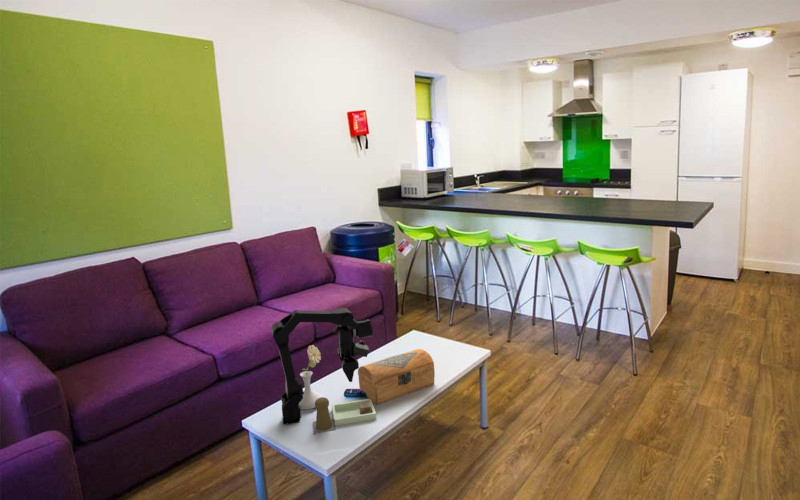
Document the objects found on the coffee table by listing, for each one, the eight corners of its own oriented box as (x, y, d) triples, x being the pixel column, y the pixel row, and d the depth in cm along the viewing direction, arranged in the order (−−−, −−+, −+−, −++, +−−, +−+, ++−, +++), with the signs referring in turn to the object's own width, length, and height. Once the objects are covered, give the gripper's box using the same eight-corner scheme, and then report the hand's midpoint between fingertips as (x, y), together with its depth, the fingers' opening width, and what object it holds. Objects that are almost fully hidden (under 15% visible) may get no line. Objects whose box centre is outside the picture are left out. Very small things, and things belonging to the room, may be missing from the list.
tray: (334, 426, 191) (334, 420, 190) (331, 410, 202) (331, 404, 202) (376, 419, 194) (376, 413, 194) (371, 404, 206) (370, 398, 205)
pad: (314, 434, 186) (314, 433, 186) (312, 422, 194) (312, 421, 194) (335, 430, 188) (335, 429, 188) (333, 419, 196) (333, 418, 196)
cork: (314, 423, 193) (311, 397, 190) (329, 419, 195) (327, 393, 192) (317, 431, 187) (315, 404, 185) (333, 427, 189) (331, 401, 187)
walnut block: (361, 417, 195) (360, 408, 195) (359, 412, 199) (359, 403, 198) (371, 416, 196) (370, 406, 195) (369, 410, 200) (369, 401, 199)
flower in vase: (307, 415, 200) (301, 356, 194) (289, 406, 207) (283, 349, 202) (331, 401, 209) (327, 345, 204) (314, 393, 217) (309, 339, 211)
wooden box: (377, 407, 204) (375, 375, 201) (358, 391, 217) (356, 361, 214) (437, 385, 219) (436, 356, 216) (416, 372, 233) (415, 344, 230)
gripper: (370, 346, 192) (373, 384, 195) (363, 329, 209) (365, 364, 213) (341, 350, 189) (344, 388, 193) (336, 332, 207) (339, 367, 210)
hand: (349, 376), depth 202 cm, fingers open, 9 cm apart
